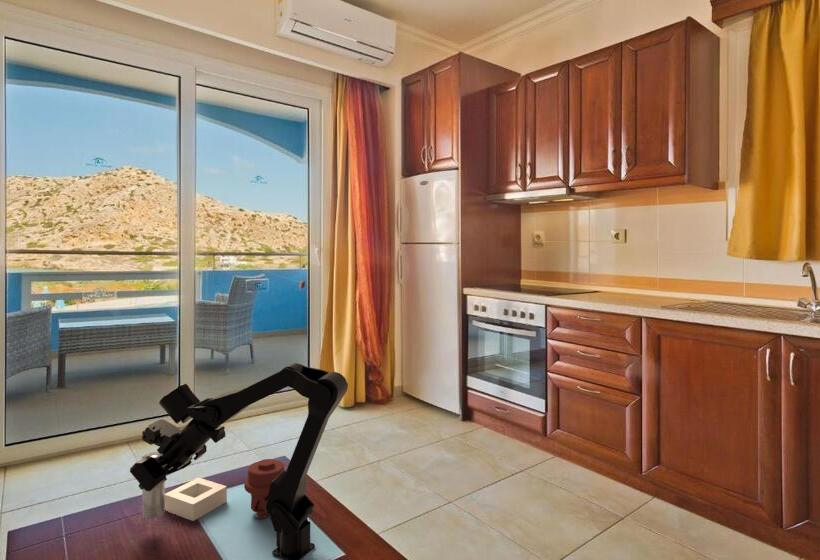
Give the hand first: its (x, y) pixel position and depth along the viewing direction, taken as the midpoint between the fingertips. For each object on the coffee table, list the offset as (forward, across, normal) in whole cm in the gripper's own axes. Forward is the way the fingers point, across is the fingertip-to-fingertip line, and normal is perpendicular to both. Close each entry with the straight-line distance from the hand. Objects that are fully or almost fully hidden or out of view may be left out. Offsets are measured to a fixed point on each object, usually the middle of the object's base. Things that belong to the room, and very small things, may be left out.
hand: (148, 482), depth 108 cm
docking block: (+5, -12, +10) cm, 17 cm away
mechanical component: (-7, -13, +23) cm, 28 cm away
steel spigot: (+4, 0, +6) cm, 7 cm away
